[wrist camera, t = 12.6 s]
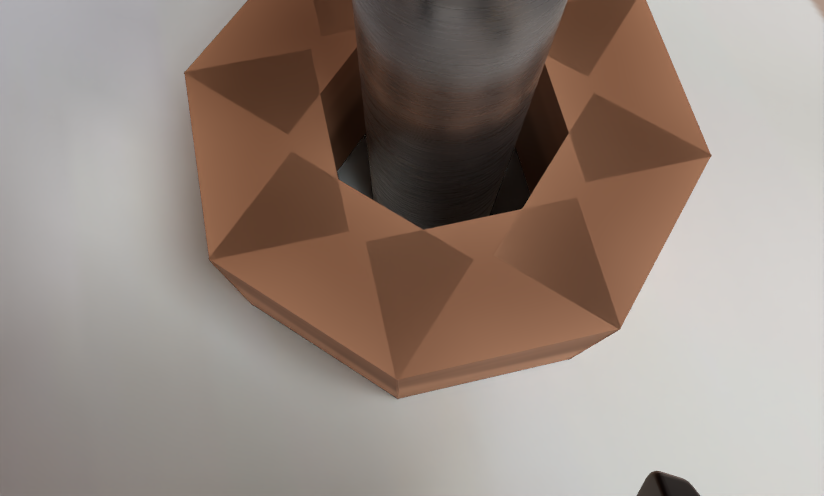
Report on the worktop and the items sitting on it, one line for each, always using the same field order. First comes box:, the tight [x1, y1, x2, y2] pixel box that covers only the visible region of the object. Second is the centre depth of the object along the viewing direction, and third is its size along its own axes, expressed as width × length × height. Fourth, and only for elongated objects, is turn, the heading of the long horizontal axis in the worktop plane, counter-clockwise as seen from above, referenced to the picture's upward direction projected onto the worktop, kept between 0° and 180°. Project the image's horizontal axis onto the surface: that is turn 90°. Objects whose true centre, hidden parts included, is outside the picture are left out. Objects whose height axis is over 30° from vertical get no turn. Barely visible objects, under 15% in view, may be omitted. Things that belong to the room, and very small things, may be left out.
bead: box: [184, 0, 711, 399], centre depth 16 cm, size 11×11×4 cm
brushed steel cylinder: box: [352, 0, 568, 230], centre depth 11 cm, size 4×4×14 cm
